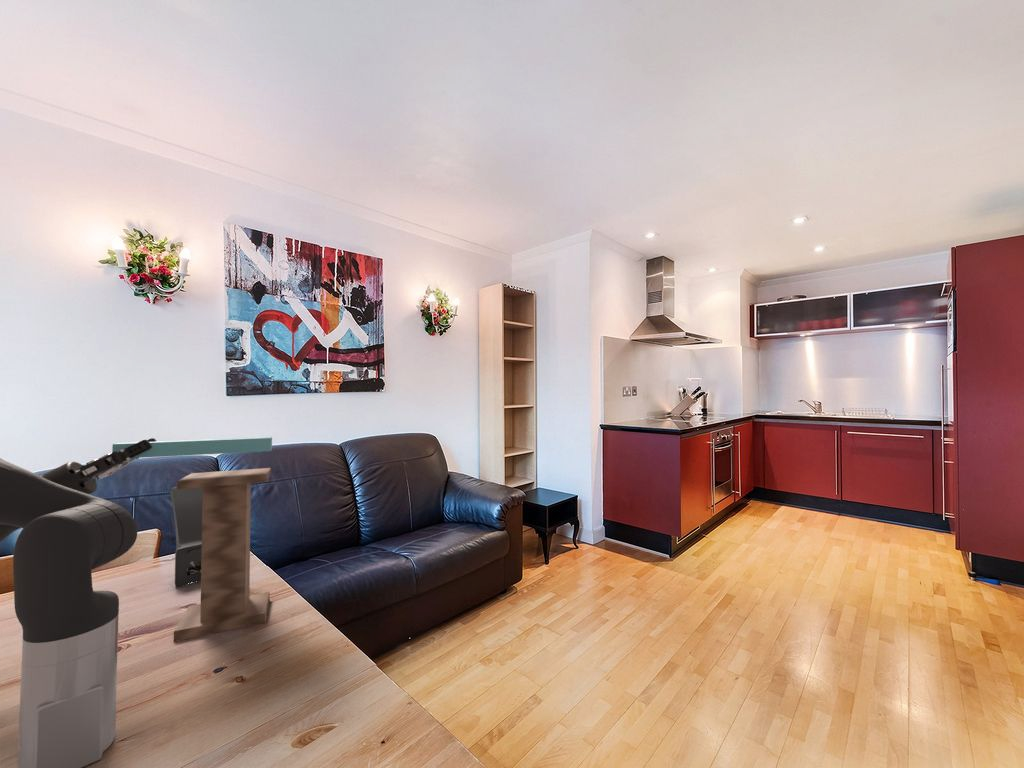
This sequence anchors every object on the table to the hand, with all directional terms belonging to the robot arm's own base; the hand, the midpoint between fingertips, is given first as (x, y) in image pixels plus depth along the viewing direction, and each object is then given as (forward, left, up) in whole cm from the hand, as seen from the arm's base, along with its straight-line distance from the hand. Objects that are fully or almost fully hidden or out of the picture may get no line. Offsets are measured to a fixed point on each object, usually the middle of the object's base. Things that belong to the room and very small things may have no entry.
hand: (152, 442), depth 91 cm
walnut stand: (-5, -13, -40) cm, 42 cm away
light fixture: (+33, -13, -40) cm, 54 cm away
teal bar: (-3, -8, -3) cm, 9 cm away
